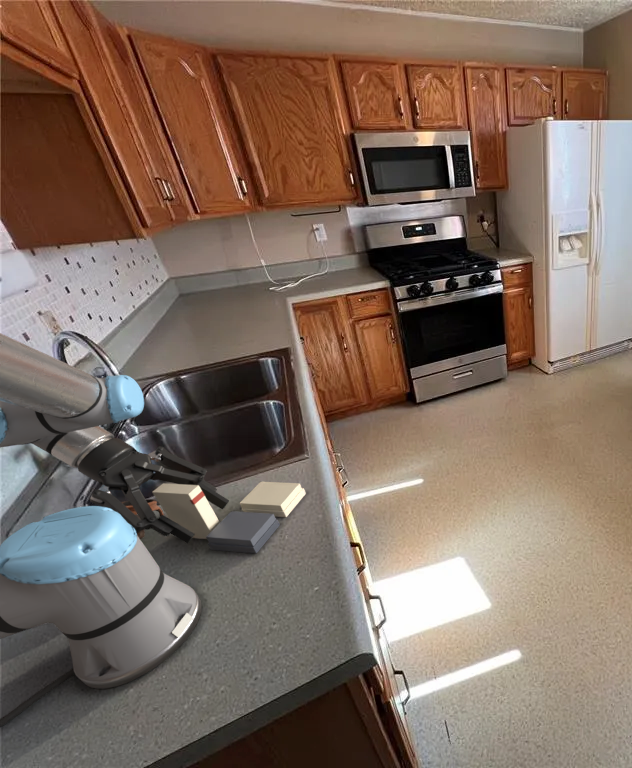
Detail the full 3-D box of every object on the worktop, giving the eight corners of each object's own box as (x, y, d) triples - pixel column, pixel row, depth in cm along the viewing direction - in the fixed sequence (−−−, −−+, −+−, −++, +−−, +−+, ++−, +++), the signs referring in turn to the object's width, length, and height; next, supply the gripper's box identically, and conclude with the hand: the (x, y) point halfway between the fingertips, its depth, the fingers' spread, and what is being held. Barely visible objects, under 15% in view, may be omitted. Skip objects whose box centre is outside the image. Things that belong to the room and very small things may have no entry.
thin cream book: (215, 540, 82) (188, 494, 76) (180, 537, 83) (151, 492, 77) (224, 530, 84) (199, 485, 78) (190, 527, 85) (163, 483, 79)
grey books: (256, 553, 78) (250, 541, 76) (210, 549, 79) (203, 538, 78) (280, 524, 84) (274, 513, 82) (237, 521, 85) (230, 510, 84)
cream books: (286, 517, 85) (281, 506, 84) (244, 514, 87) (238, 503, 86) (305, 493, 92) (301, 482, 90) (266, 491, 93) (260, 480, 92)
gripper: (143, 431, 87) (240, 493, 92) (28, 503, 69) (156, 575, 74) (152, 410, 83) (252, 475, 88) (34, 480, 65) (168, 557, 70)
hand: (209, 521), depth 81 cm, fingers open, 8 cm apart
